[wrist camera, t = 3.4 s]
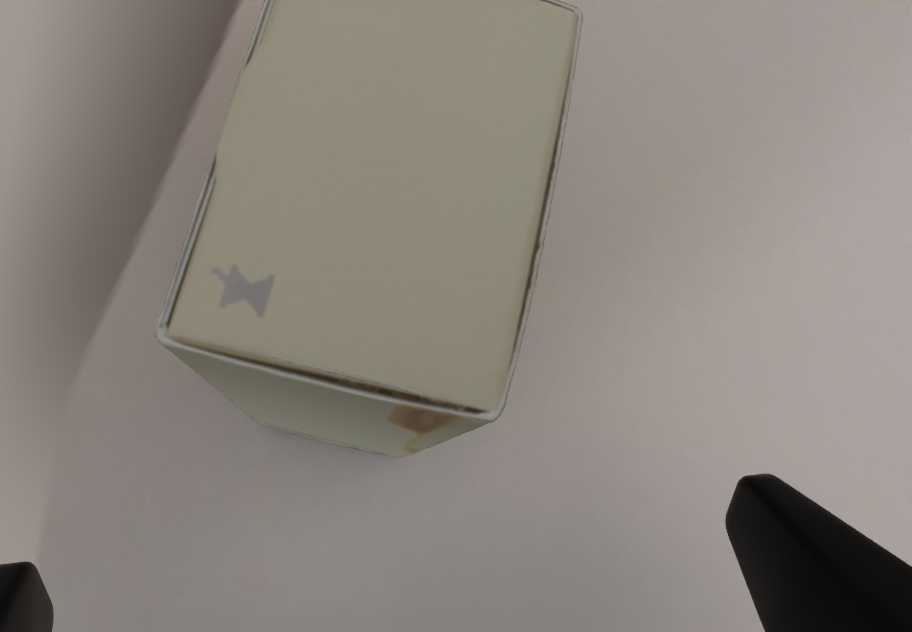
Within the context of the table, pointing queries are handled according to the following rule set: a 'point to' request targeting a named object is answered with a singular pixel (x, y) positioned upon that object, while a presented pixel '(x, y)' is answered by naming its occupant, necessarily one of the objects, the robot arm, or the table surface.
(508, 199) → the cosmetic box
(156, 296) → the table surface
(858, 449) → the table surface
